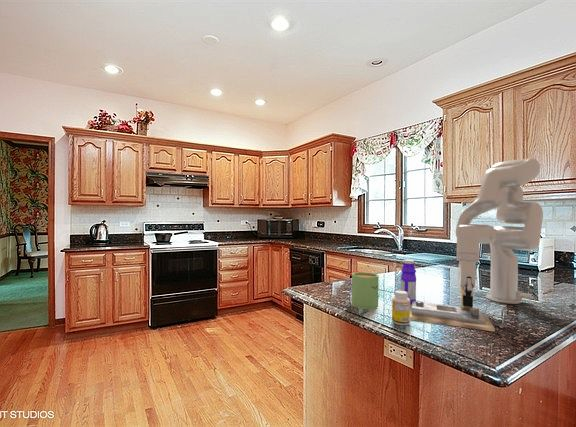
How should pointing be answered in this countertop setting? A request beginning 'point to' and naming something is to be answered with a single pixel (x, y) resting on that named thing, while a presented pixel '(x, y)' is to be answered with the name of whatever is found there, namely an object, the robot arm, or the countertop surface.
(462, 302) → the pin
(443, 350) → the countertop surface
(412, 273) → the bottle
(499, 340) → the countertop surface
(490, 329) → the board
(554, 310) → the countertop surface
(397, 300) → the supplement bottle
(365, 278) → the mug
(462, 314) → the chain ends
